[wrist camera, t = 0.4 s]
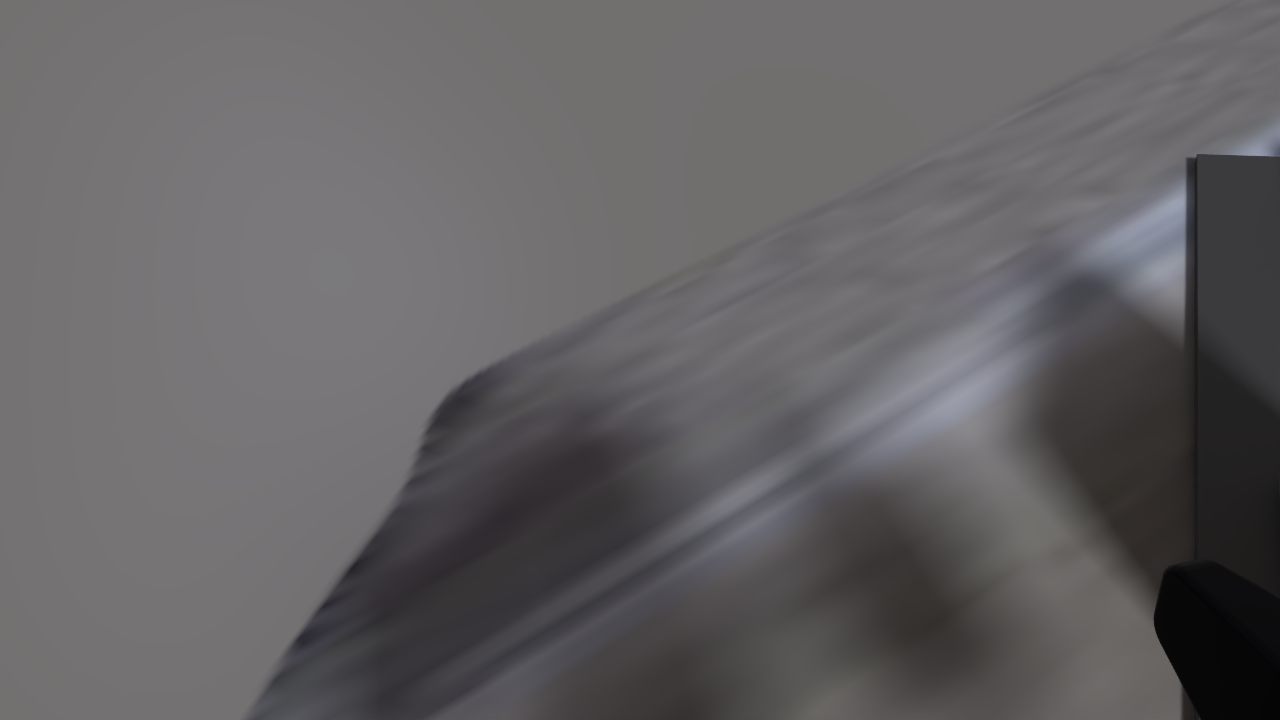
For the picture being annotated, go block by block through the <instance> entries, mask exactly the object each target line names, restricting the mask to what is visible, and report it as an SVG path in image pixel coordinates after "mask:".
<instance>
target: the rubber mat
mask: <svg viewBox="0 0 1280 720" xmlns="http://www.w3.org/2000/svg"><path fill="white" fill-rule="evenodd" d="M1279 472H1280V157H1269V156H1238V155H1206V154H1197V157H1196V161H1195V560H1198V559H1209V560H1213V561H1216V562H1218V563H1220V564H1222V565H1224V566H1226V567H1228V568H1229V569H1231V570H1233V571H1235V572H1237V573H1238V574H1240V575H1242V576H1244V577H1245V578H1247V579H1249V580H1251V581H1253V582H1254V583H1256V584H1258V585H1260V586H1262V587H1263V588H1265V589H1267V590H1269V591H1270V592H1272V593H1274V594H1276V595H1278V596H1279V597H1280V490H1279V475H1278V474H1279ZM1195 720H1200V718H1199V716H1198V714H1197V712H1196V710H1195Z"/></svg>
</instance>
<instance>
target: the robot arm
mask: <svg viewBox="0 0 1280 720" xmlns="http://www.w3.org/2000/svg"><path fill="white" fill-rule="evenodd" d="M1154 627H1155V631H1156V634H1157V637H1158V639H1159V641H1160V644H1161V645H1162V647H1163V649H1164V651H1165V653H1166V655H1167V657H1168V659H1169V661H1170V663H1171V665H1172V666H1173V668H1174V670H1175V672H1176V674H1177V676H1178V678H1179V680H1180V682H1181V684H1182V686H1183V687H1184V689H1185V691H1186V693H1187V695H1188V697H1189V699H1190V701H1191V703H1192V705H1193V707H1194V709H1195V710H1196V712H1197V714H1198V716H1199V718H1200V720H1280V597H1279V596H1278V595H1276V594H1274V593H1272V592H1270V591H1269V590H1267V589H1265V588H1263V587H1262V586H1260V585H1258V584H1256V583H1254V582H1253V581H1251V580H1249V579H1247V578H1245V577H1244V576H1242V575H1240V574H1238V573H1237V572H1235V571H1233V570H1231V569H1229V568H1228V567H1226V566H1224V565H1222V564H1220V563H1218V562H1216V561H1213V560H1209V559H1198V560H1193V561H1188V562H1183V563H1178V564H1174V565H1171V566H1169V567H1168V568H1167V569H1166V570H1165V571H1164V573H1163V577H1162V581H1161V585H1160V590H1159V594H1158V599H1157V603H1156V608H1155V612H1154Z"/></svg>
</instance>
